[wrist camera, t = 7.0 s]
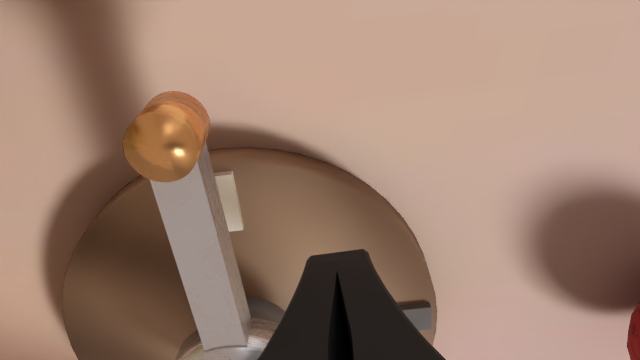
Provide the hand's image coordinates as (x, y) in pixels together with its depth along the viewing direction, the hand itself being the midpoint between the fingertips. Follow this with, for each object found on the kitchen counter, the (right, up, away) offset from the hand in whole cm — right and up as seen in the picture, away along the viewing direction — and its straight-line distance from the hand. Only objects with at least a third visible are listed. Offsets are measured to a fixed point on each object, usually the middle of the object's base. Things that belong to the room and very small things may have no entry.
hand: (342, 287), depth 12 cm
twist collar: (-4, -1, +7) cm, 8 cm away
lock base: (-3, -3, +12) cm, 13 cm away
